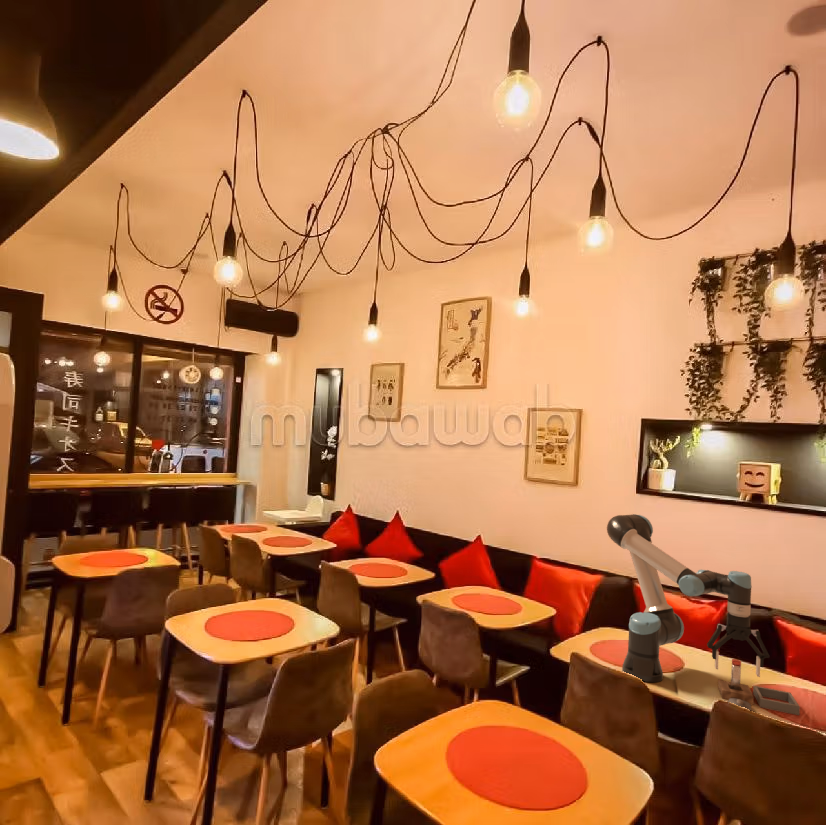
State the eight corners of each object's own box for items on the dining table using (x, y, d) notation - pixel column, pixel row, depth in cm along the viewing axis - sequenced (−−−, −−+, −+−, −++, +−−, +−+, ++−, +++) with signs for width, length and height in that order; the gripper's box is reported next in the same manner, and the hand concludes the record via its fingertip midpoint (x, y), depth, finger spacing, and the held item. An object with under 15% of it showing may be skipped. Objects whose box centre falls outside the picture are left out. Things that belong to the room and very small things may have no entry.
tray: (759, 709, 202) (760, 698, 202) (753, 696, 213) (753, 685, 213) (799, 718, 198) (799, 706, 198) (790, 703, 209) (790, 692, 209)
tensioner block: (725, 710, 200) (725, 699, 200) (717, 690, 216) (718, 679, 217) (757, 717, 196) (758, 705, 196) (747, 696, 213) (748, 685, 213)
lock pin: (731, 696, 209) (732, 661, 210) (729, 693, 212) (731, 658, 212) (740, 698, 208) (741, 662, 208) (738, 695, 211) (740, 660, 211)
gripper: (702, 611, 212) (700, 668, 211) (780, 622, 203) (778, 682, 202) (700, 606, 219) (698, 661, 218) (774, 617, 210) (773, 674, 209)
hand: (736, 671), depth 210 cm, fingers open, 13 cm apart
